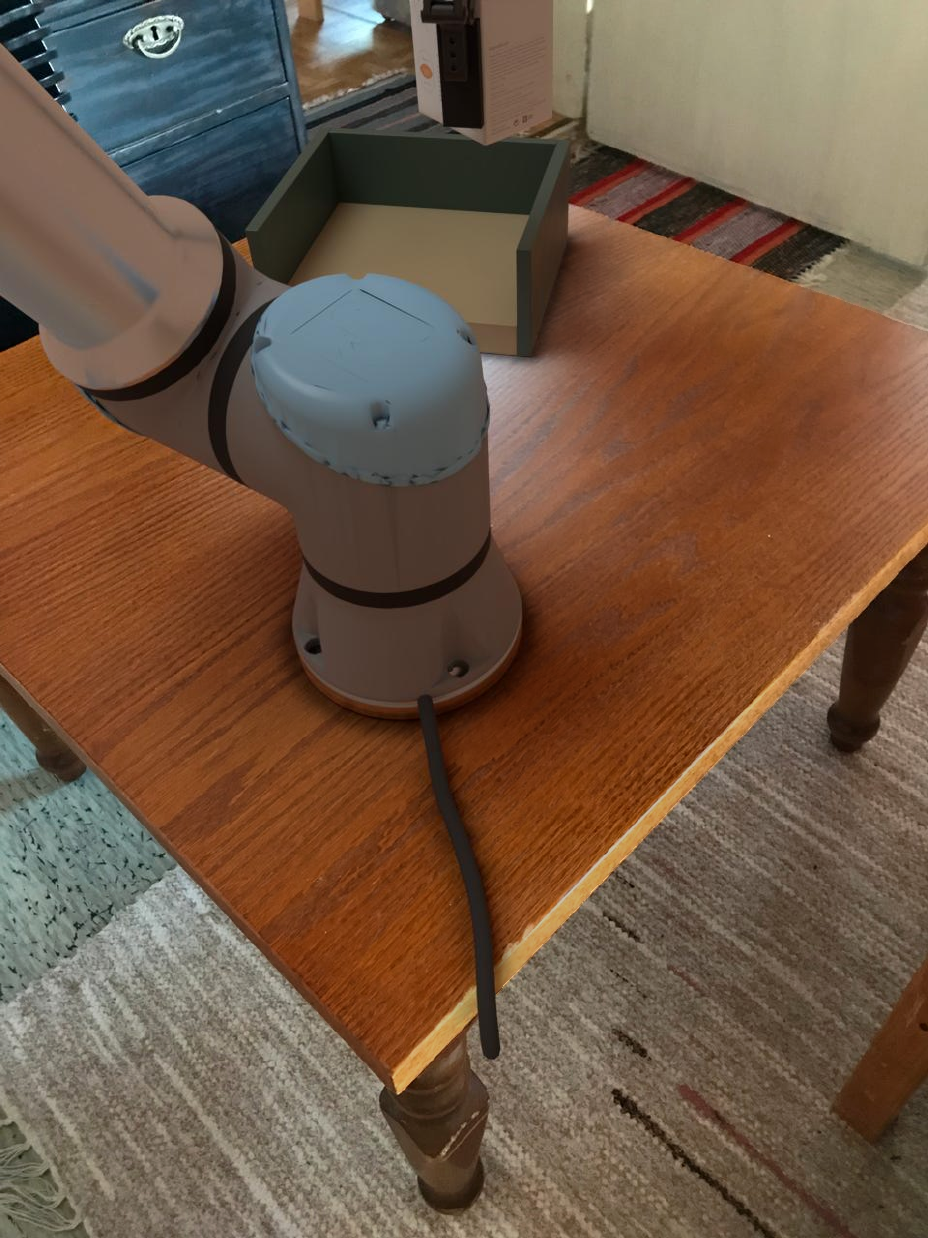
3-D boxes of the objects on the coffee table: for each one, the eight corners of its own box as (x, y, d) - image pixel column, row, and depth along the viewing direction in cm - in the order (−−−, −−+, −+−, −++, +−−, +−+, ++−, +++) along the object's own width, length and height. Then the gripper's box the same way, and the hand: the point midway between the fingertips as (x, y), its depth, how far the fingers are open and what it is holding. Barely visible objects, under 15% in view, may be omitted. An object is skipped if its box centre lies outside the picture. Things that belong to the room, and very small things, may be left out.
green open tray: (530, 357, 86) (530, 250, 79) (268, 332, 91) (244, 229, 83) (567, 241, 99) (570, 139, 91) (335, 224, 103) (320, 126, 96)
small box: (554, 119, 70) (557, -100, 60) (484, 148, 68) (476, -74, 58) (483, 86, 74) (475, -123, 65) (416, 112, 72) (397, -101, 62)
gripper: (481, -311, 45) (496, 170, 62) (571, -375, 59) (564, 34, 76) (329, -305, 47) (384, 162, 64) (451, -369, 60) (470, 30, 78)
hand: (482, 93), depth 70 cm, fingers closed on small box, 10 cm apart
